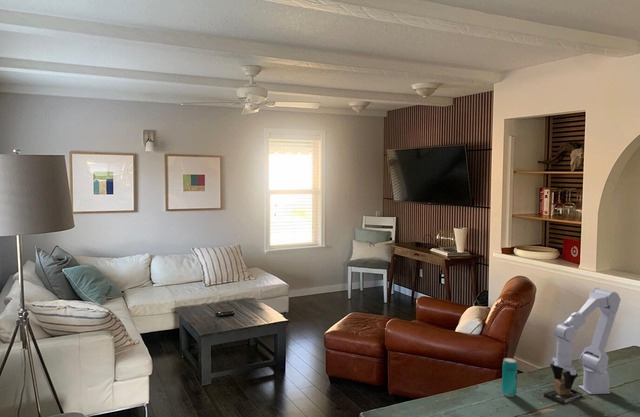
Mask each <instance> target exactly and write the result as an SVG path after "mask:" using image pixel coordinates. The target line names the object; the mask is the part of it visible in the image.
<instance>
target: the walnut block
mask: <svg viewBox="0 0 640 417" xmlns="http://www.w3.org/2000/svg"><path fill="white" fill-rule="evenodd" d="M553 379H554V383H553V384H554V385H553V391H555V392H557V393H558V394H559V395H570V389H566V388H565V380H564V378H561V379H555V378H553Z"/></svg>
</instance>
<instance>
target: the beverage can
mask: <svg viewBox="0 0 640 417" xmlns="http://www.w3.org/2000/svg"><path fill="white" fill-rule="evenodd" d="M501 372H502V373H501V375H502V378H501V380H502V382H501V391H502V394H503V395H504V396H505V397H508V398H509V397H510V398H513V397H516V394H517V387H518V381H517V380H518V362H517V359H514V358H511V357H504V358H503V362H502V371H501Z"/></svg>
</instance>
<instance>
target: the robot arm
mask: <svg viewBox="0 0 640 417" xmlns="http://www.w3.org/2000/svg"><path fill="white" fill-rule="evenodd" d="M588 296H589V298H588V299H587V300H586V302H585V303H584V304H583V305H582V307H581V308H580V309H579V310H578V311H577V312H576V311H575V312H572V313H571V314H570V316H569V317H568V318H566V320H565V321H563V322H562V323H559V324H557V325H556V326H555V327H554V330H553V335H554V336H555V340H556V354H555V355H556V356H555V357H551V362H552V363H550V364H549V366H550V368H551V370H552V373H553V377H554V378H553V379H562V377H563V379H564V380H565V388H566V389H572V387H573V384H574V382H575V380H576V379H577V378H578V377H579V375H578V373H577V370H576V369H575V367H574V366H573V364H572V360H573V359H572V355H573V354H572V353H573V340H575V339H576V337H577V334H578V330H579V329H580V328H581V327H582V326H583V325H584V324H585V323H586V317H588V316H589V315H590V314H591V313H593V312H594V311H595V310H596V309H597V308H599V310H600V316H599V319H598V322H597V324H596V328H595V331H594V334H593V337H592V340H591V344H590V345H589V346H586V347H584V348H583V351H582V353H581V354H580V356H579V362H580V365H582V368H583V379H582V382H583V383H582V385H578V387H579V389H582V390H583V391H584V392H586V393H587V394H589V395H600V394H601V395H602V394H605V395H606V394H611V392H610V374H609V372H608V371H607V369H608V367H609V355H608V354H607V353H606V350H605V349H606V348H607V347H606V346H607V343H608V341H609V337H610V334H611V332H612V328H613V325H614V321H615V318H616V315H617V312H618V310H619V306H620V303H621V297H620V295H619V293H618V292H616V291H611V290H607V289H602V288H600V287H594V288H593V289H592V290H591V292H589V295H588ZM563 370H564V371H563ZM562 375H563V376H562Z"/></svg>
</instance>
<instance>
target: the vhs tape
mask: <svg viewBox="0 0 640 417" xmlns="http://www.w3.org/2000/svg"><path fill="white" fill-rule="evenodd" d="M543 397H545V398H547V399H548V400H551V401H553V402H555V403H557V404H560V405H562V404H566V403H568V402H572V401H575V400H577V399H581V398H583V392H580V391H578V390H574V389H572V388H571V389H570V395H559V394H558V393H557V392H555V391H554V390H550V391H549V392H544V393H543Z"/></svg>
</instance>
